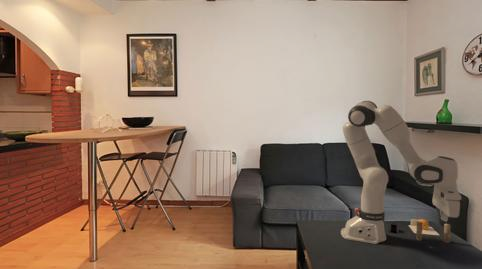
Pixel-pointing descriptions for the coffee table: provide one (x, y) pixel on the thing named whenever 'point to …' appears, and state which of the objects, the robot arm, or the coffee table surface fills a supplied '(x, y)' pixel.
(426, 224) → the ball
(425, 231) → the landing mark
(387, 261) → the coffee table surface
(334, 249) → the coffee table surface
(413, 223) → the wall
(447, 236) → the post
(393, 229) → the dark slotted block
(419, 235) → the post
